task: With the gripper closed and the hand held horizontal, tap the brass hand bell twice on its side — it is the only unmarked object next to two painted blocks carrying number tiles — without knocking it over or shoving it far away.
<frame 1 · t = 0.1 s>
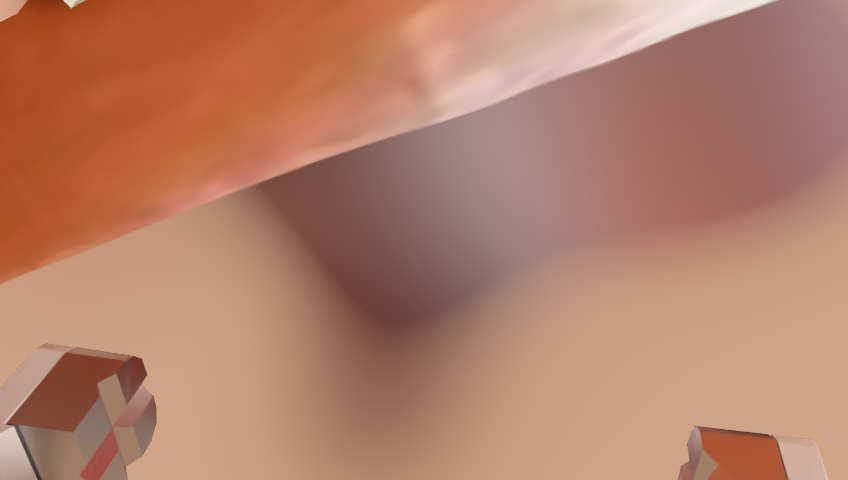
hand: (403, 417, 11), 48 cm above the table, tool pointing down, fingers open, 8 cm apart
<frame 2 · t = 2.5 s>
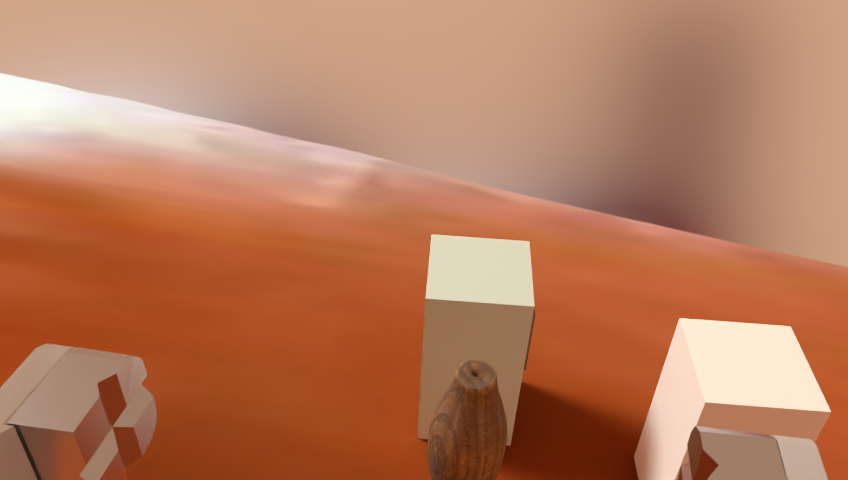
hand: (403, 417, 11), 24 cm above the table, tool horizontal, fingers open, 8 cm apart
sage block marked: (464, 406, 43), on the table
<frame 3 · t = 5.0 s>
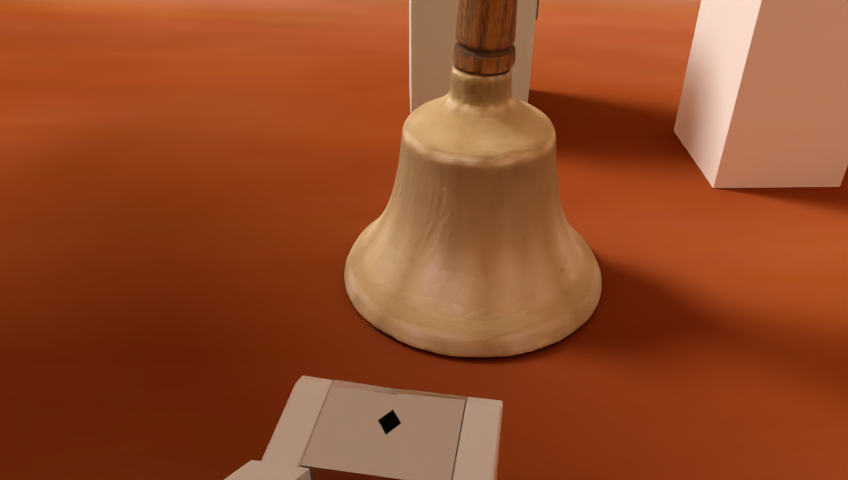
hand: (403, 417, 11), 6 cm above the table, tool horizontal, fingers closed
cream block marked: (751, 157, 31), on the table
sage block marked: (464, 108, 35), on the table
hand bell: (471, 278, 25), on the table
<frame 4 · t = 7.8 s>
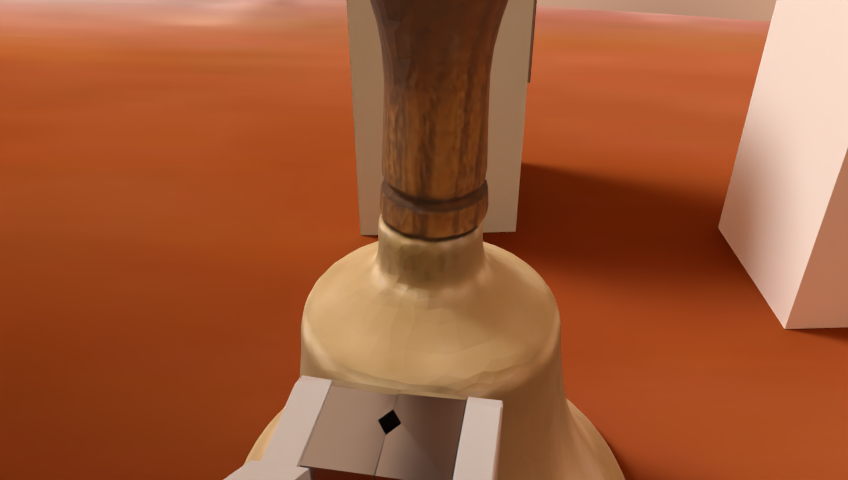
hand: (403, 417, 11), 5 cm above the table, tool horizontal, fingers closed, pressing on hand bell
cream block marked: (830, 271, 23), on the table
sage block marked: (434, 193, 26), on the table
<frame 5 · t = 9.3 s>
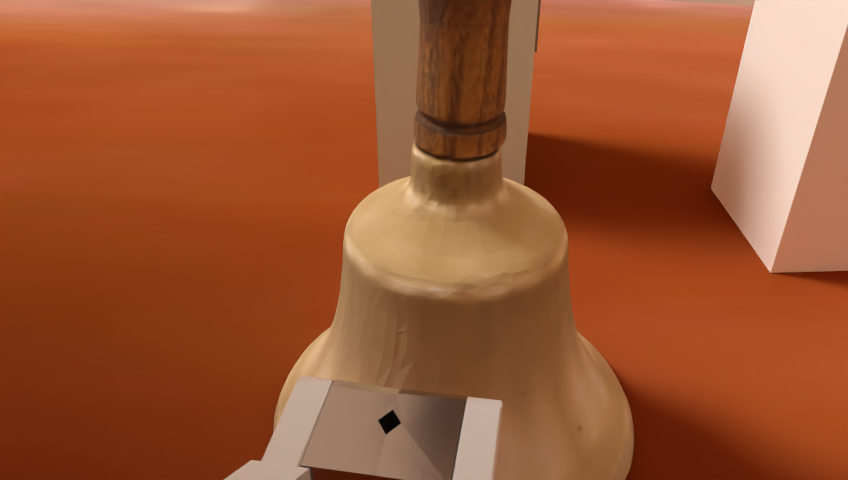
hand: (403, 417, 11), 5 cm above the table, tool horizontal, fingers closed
cream block marked: (814, 224, 24), on the table
sage block marked: (447, 159, 28), on the table
hand bell: (451, 420, 18), on the table
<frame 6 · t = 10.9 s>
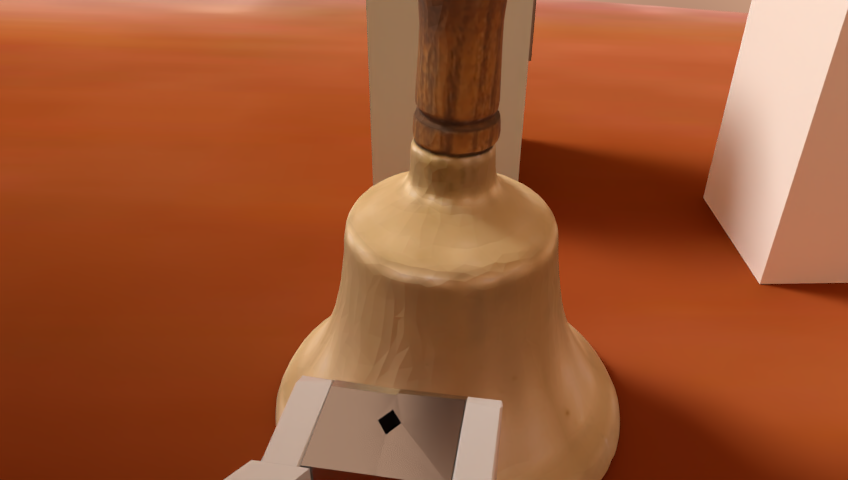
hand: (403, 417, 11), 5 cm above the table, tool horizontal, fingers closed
cream block marked: (804, 236, 25), on the table
sage block marked: (441, 165, 28), on the table
hand bell: (446, 405, 19), on the table
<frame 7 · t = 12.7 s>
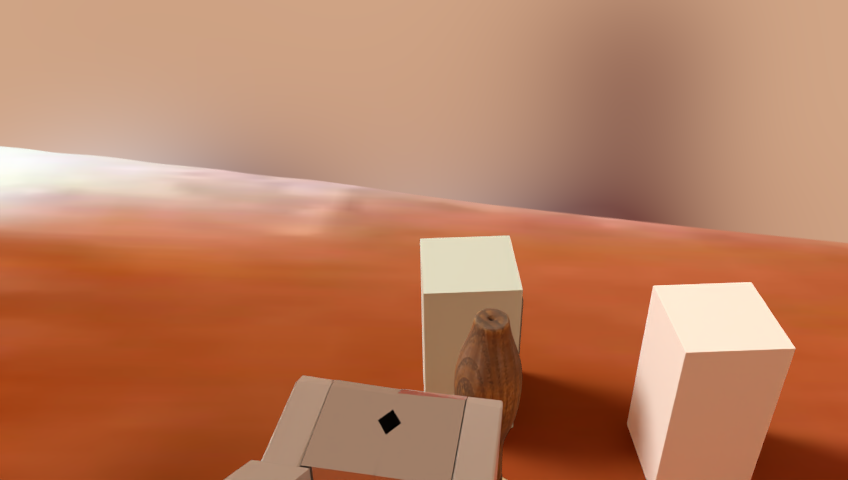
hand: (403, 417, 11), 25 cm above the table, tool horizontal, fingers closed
cream block marked: (683, 456, 42), on the table
sage block marked: (466, 398, 46), on the table
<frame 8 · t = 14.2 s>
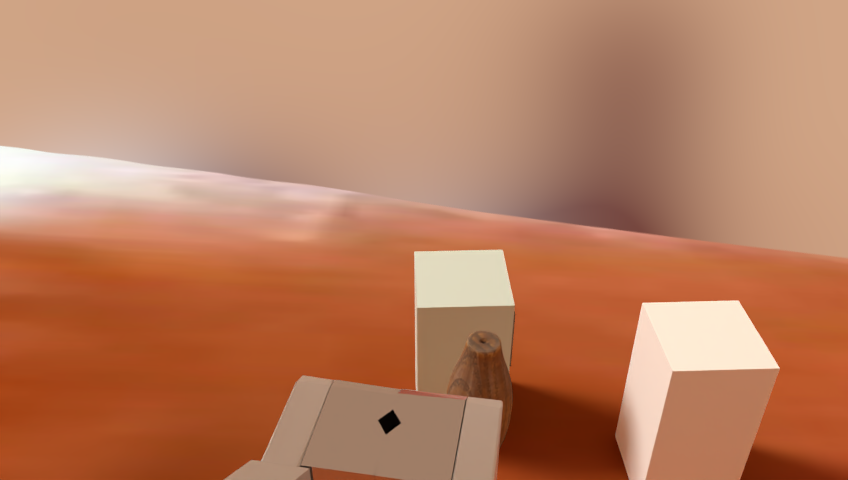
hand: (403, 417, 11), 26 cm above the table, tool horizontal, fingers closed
cream block marked: (670, 469, 42), on the table
sage block marked: (457, 407, 46), on the table
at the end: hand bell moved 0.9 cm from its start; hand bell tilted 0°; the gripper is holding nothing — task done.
